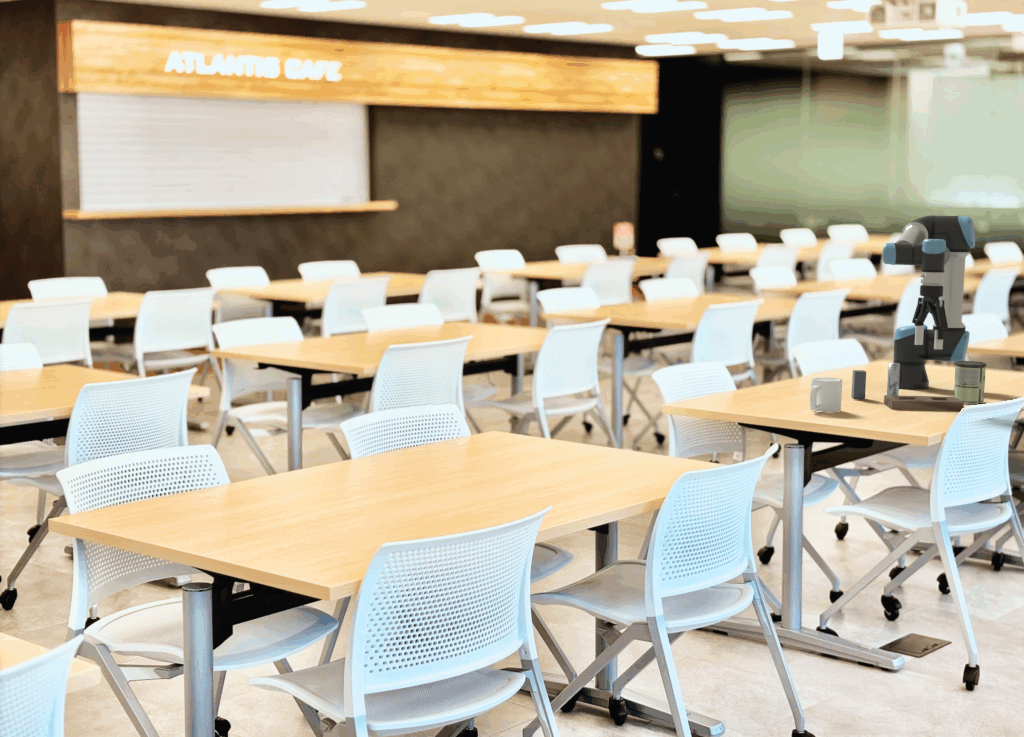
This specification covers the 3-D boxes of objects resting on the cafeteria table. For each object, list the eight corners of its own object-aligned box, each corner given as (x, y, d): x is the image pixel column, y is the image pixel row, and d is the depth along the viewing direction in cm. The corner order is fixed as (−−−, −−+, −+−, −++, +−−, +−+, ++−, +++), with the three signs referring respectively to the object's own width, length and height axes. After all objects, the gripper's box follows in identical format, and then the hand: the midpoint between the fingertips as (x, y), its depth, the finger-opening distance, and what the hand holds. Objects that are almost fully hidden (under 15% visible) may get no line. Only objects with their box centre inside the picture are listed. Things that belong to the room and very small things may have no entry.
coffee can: (950, 399, 472) (952, 360, 471) (979, 400, 472) (982, 361, 470) (956, 404, 462) (959, 364, 460) (987, 405, 461) (989, 365, 459)
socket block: (883, 403, 461) (884, 395, 461) (954, 405, 459) (954, 396, 459) (891, 409, 449) (891, 400, 449) (963, 411, 448) (963, 402, 447)
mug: (827, 415, 435) (828, 383, 434) (799, 411, 442) (800, 380, 440) (846, 410, 445) (847, 379, 444) (818, 407, 452) (820, 376, 450)
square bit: (851, 397, 474) (852, 370, 472) (862, 398, 473) (864, 370, 472) (853, 399, 470) (854, 371, 468) (864, 399, 469) (866, 371, 468)
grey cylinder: (885, 398, 473) (887, 362, 471) (896, 398, 472) (898, 362, 471) (887, 400, 469) (889, 363, 467) (899, 400, 469) (901, 364, 467)
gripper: (904, 282, 460) (901, 342, 463) (939, 287, 436) (936, 351, 439) (924, 282, 462) (920, 342, 464) (960, 287, 437) (957, 351, 440)
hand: (928, 347), depth 451 cm, fingers open, 13 cm apart
